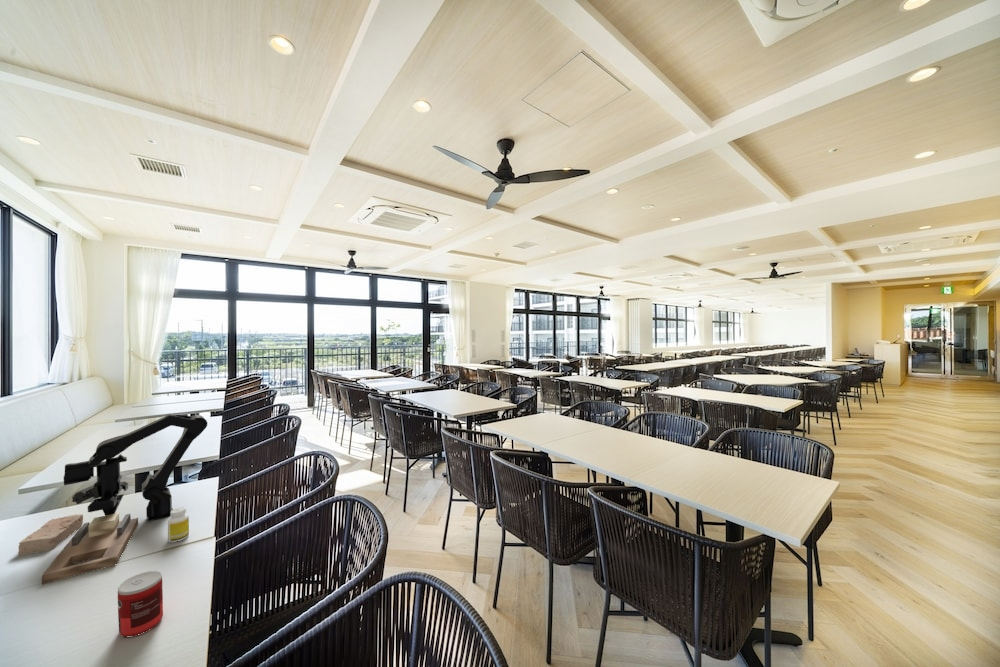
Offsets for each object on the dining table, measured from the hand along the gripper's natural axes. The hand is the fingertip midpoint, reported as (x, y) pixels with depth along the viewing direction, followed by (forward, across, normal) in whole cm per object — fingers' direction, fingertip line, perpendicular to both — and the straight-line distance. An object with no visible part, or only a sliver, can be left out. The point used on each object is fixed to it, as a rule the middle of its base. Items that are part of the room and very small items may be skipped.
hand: (110, 519), depth 132 cm
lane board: (+4, +15, 0) cm, 16 cm away
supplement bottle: (+4, +21, +21) cm, 30 cm away
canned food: (+4, +64, +20) cm, 67 cm away
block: (+1, +6, 0) cm, 6 cm away
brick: (+4, -2, -14) cm, 15 cm away
